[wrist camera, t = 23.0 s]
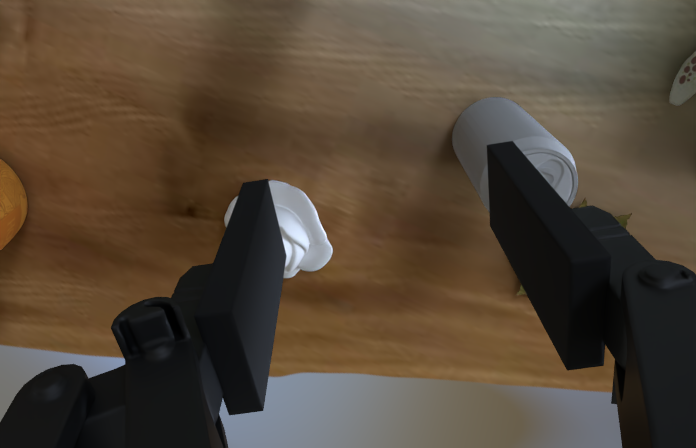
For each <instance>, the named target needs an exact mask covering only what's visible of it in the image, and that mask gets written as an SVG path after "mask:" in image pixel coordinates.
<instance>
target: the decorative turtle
mask: <svg viewBox="0 0 696 448" xmlns="http://www.w3.org/2000/svg"><path fill="white" fill-rule="evenodd" d="M695 93H696V51H695V52H694V53H693V54H692V55H691V56H690V57H689V58H688V59H687V60H686V61H685V62H684V64H683V65H682V67H681V68H680V70H679V72H678V73H677V76H676V78H675V80H674V83H673V86H672V88H671V92H670V97H669V102H670V103H671V104H674V105H677V106H679V105H681V104H683V103H684V102H685V101H687V100H688V99H689V98H690V97H691V96H692V95H694V94H695Z"/></svg>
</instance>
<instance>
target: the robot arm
mask: <svg viewBox="0 0 696 448" xmlns="http://www.w3.org/2000/svg"><path fill="white" fill-rule="evenodd" d="M487 165H488V188H489V210H490V226H491V228H492V230H493V232H494V234H495V236H496V238H497V240H498V241H499V243H500V245H501V247H502V249H503V251H504V253H505V255H506V256H507V258H508V260H509V262H510V264H511V266H512V268H513V270H514V271H515V273H516V275H517V277H518V279H519V281H520V283H521V285H522V286H523V288H524V290H525V292H526V294H527V296H528V298H529V300H530V301H531V303H532V305H533V307H534V309H535V311H536V313H537V315H538V316H539V318H540V320H541V322H542V324H543V326H544V328H545V330H546V332H547V333H548V335H549V337H550V339H551V341H552V343H553V345H554V347H555V348H556V350H557V352H558V354H559V356H560V358H561V360H562V362H563V363H564V365H565V367H566V369H567V370H574V369H582V368H589V367H597V366H603V365H604V352H605V344H606V346H607V348H608V349H609V351H610V352H611V354H612V355H613V357H614V358H615V367H614V378H613V390H612V402H611V403H612V404H617V407H618V415H619V423H620V430H621V440H622V448H696V274H695V273H694V272H693V271H691V270H689V269H688V268H686V267H684V266H682V265H679V264H676V263H673V262H670V261H662V260H656V259H655V258H654V257H653V256H652V255H651V254H650V253H649V252H648V251H647V250H646V249H645V248H644V247H643V246H642V245H641V244H640V243H639V242H638V241H637V240H636V239H635V238H634V237H633V236H632V235H630V234H629V232H628V231H627V230H626V229H625V228H624V227H623V226H622V227H621V224H620V223H619V222H618V221H617V220H616V219H615V218H614V217H613V216H612V215H611V214H610V213H608V212H606V211H603V210H601V209H599V208H597V207H595V206H587V207H580V208H573V209H571V208H570V207H569V206H568V205H567V204H566V202H565V201H564V200H563V199H562V198H561V197H560V196H559V194H558V193H557V192H556V191H555V190H554V189H553V187H552V186H551V185H550V184H549V183H548V182H547V180H546V179H545V178H544V177H543V176H542V175H541V173H540V172H539V171H538V170H537V169H536V168H535V166H534V165H533V164H532V163H531V162H530V161H529V160H528V158H527V157H526V156H525V155H524V154H523V153H522V151H521V150H520V149H519V148H518V147H517V146H516V144H515V143H514V142H513V141H509V142H502V143H496V144H489V145H487ZM286 257H287V255H286V251H285V247H284V243H283V239H282V235H281V231H280V227H279V223H278V219H277V215H276V211H275V207H274V202H273V198H272V194H271V190H270V186H269V182H268V179H265V180H259V181H252V182H246V183H243V185H242V187H241V190H240V193H239V195H238V198H237V201H236V203H235V206H234V209H233V212H232V214H231V217H230V220H229V222H228V225H227V228H226V230H225V233H224V236H223V238H222V241H221V244H220V246H219V249H218V252H217V255H216V257H215V260H214V263H212V264H205V265H199V266H192V267H191V268H190V269H189V270H188V271H187V272H186V273H185V274H184V275H183V276H182V277H181V278H180V279H179V281H178V284H177V286H176V288H175V290H174V293H173V295H172V297H171V298H169V297H155V298H150V299H145V300H143V301H140V302H138V303H135V304H133V305H131V306H130V307H128V308H127V309H125V310H124V311H122V312H121V313H120V314H119V315H118V316H117V317H116V318H115V319H114V321H113V324H112V326H111V329H112V332H113V334H114V336H115V338H116V340H117V343H118V345H119V347H120V349H121V352H122V354H123V356H124V358H125V365H123V366H121V367H119V368H117V369H114V370H111V371H108V372H105V373H103V374H100V375H97V376H94V377H92V378H88V377H87V375H86V373H85V371H84V370H83V368H82V367H81V366H78V365H75V364H70V365H61V366H57V367H54V368H50V369H48V370H45V371H44V372H41V373H40V374H38V375H36V376H35V377H34V378H32V379H31V380H30V381H29V382H27V383H26V384H25V385H24V386H23V387H22V388H21V390H20V391H19V392H18V393H17V395H16V396H15V398H14V400H13V401H12V403H11V405H10V406H9V408H8V410H7V412H6V413H5V415H4V417H3V419H2V420H1V422H0V448H228V444H227V439H226V435H225V430H224V427H223V424H222V421H221V418H220V416H219V411H220V406H221V402H222V398H223V399H224V402H225V405H226V407H227V410H228V413H229V415H235V414H242V413H250V412H257V411H263V408H264V402H265V395H266V389H267V382H268V375H269V369H270V362H271V356H272V349H273V342H274V336H275V329H276V323H277V316H278V309H279V303H280V296H281V290H282V283H283V277H284V270H285V263H286Z"/></svg>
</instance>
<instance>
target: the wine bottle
mask: <svg viewBox="0 0 696 448" xmlns="http://www.w3.org/2000/svg"><path fill="white" fill-rule="evenodd" d="M27 209H28V203H27V196H26V193H25V190H24V187H23V185H22V183H21V181H20V179H19V178H18V176H17V175H16V174H15V172H14V171H13V170H12V169H11V168H10V167H9V166H8V165H7V164H6V163H5V162H4V161H3V160H1V159H0V251H1V250H2V249H3V248H4V246H5V245H6V244H7V243H8V242H9V241H10V240H11V239H12V238H13V237H14V236H15V235H16V233H17V232H18V231H19V230H20V228H21V227H22V225H23V223H24V221H25V218H26V215H27Z"/></svg>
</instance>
